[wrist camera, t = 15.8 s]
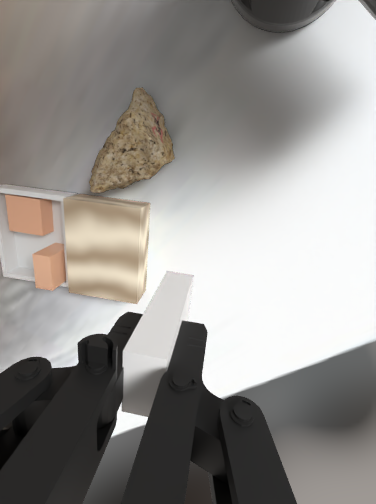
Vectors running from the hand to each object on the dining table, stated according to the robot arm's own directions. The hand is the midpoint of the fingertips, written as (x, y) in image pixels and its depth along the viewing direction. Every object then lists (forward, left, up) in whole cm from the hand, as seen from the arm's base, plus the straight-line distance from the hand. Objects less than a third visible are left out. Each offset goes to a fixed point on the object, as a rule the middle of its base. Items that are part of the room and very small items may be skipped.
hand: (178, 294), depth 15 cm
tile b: (+13, -24, -26) cm, 38 cm away
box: (+9, -29, -29) cm, 42 cm away
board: (+9, -16, -29) cm, 35 cm away
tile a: (+5, -30, -26) cm, 40 cm away
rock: (-7, -13, -30) cm, 33 cm away
